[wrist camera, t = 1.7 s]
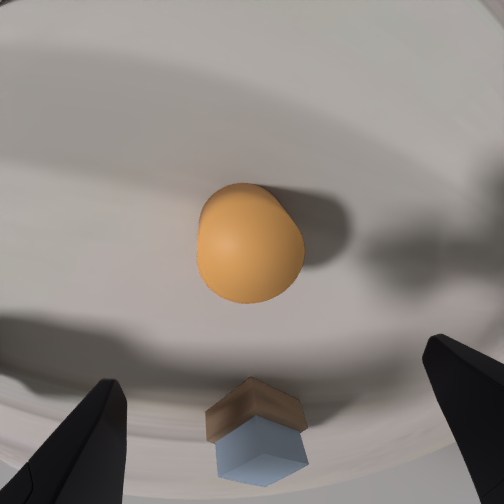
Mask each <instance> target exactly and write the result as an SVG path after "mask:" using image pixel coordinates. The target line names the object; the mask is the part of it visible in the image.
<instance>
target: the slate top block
mask: <svg viewBox="0 0 504 504" xmlns="http://www.w3.org/2000/svg"><path fill="white" fill-rule="evenodd" d="M215 445H216V458H217V470H218V477H220V478H224V479H228V480H232V481H237V482H241V483H246V484H251V485H256V486H261V487H266V486H268V485H270V484H272V483H274V482H276V481H278V480H280V479H282V478H284V477H286V476H288V475H290V474H292V473H294V472H296V471H298V470H300V469H301V468H303V467H305V466H307V465H309V463H308V459H307V456H306V452H305V449H304V446H303V442H302V439H301V435H300V432H299V431H297V430H295V429H292V428H289V427H286V426H283V425H281V424H278V423H275V422H273V421H270V420H267V419H265V418H262V417H260V416H257V415H255V416H254V417H253V418H251V419H250V420H248V421H247V422H245V423H244V424H242V425H241V426H239V427H238V428H236V429H235V430H233V431H232V432H230V433H229V434H227V435H226V436H224V437H223V438H221V439H220V440H218V441H216V442H215Z"/></svg>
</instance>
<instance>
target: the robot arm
mask: <svg viewBox="0 0 504 504" xmlns="http://www.w3.org/2000/svg"><path fill="white" fill-rule="evenodd" d="M422 361H423V365H424V367H425V370H426V372H427V375H428V377H429V380H430V383H431V385H432V388H433V391H434V393H435V396H436V399H437V401H438V403H439V406H440V408H441V410H442V412H443V414H444V416H445V418H446V420H447V422H448V425H449V427H450V429H451V431H452V433H453V436H454V438H455V440H456V442H457V444H458V447H459V449H460V451H461V454H462V456H463V458H464V461H465V463H466V466H467V468H468V471H469V473H470V475H471V478H472V481H473V483H474V486H475V488H476V491H477V494H478V496H479V498H480V502H481V504H504V364H503V363H501V362H499V361H497V360H495V359H493V358H491V357H489V356H487V355H485V354H483V353H480V352H478V351H476V350H474V349H472V348H470V347H468V346H466V345H464V344H462V343H460V342H458V341H456V340H454V339H452V338H450V337H448V336H446V335H444V334H437V335H434V336H431V337H430V338H429V340H428V342H427V345H426V348H425V350H424V353H423V356H422ZM126 452H127V400H126V397H125V395H124V393H123V391H122V388H121V386H120V384H119V382H118V381H117V380H116V379H111V378H104V379H102V380H100V381H99V382H98V383H97V385H96V386H95V387H94V388H93V389H92V390H91V391H90V392H89V393H88V394H87V395H86V397H85V398H84V399H83V400H82V401H81V402H80V403H79V404H78V405H77V406H76V408H75V409H74V410H73V411H72V412H71V413H70V414H69V415H68V416H67V417H66V419H65V420H64V421H63V422H62V423H61V424H60V425H59V426H58V427H57V429H56V430H55V431H54V432H53V433H52V434H51V435H50V436H49V438H48V439H47V440H46V441H45V442H44V443H43V444H42V445H41V447H40V448H39V449H38V450H37V451H36V452H35V453H34V455H33V456H32V457H31V458H30V459H29V461H28V462H29V463H28V462H26V464H25V465H24V466H23V467H22V468H21V469H20V470H19V471H18V473H17V474H16V475H15V476H14V477H13V478H12V479H11V480H10V481H9V482H8V483H7V484H6V485H5V486H4V487H3V488H2V489H1V490H0V504H122V495H123V483H124V473H125V463H126Z"/></svg>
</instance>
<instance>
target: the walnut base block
mask: <svg viewBox="0 0 504 504" xmlns="http://www.w3.org/2000/svg"><path fill="white" fill-rule="evenodd" d="M205 414H206V436H207V441H209V442H211V443H214V444H215V442H216V441H218V440H220V439H221V438H223V437H224V436H226V435H227V434H229V433H230V432H232V431H233V430H235V429H236V428H238V427H239V426H241V425H242V424H244V423H245V422H247V421H248V420H250V419H251V418H253V417H254V416H255V415H257V416H260V417H262V418H265V419H267V420H270V421H273V422H275V423H278V424H281V425H283V426H286V427H289V428H292V429H295V430H297V431H299V432H300V433H301V432H303V431H304V430H306V429H307V428H308V426H307V423H306V420H305V417H304V414H303V410H302V407H301V404H300V401H299V400H298V399H295V398H293V397H291V396H289V395H287V394H285V393H283V392H281V391H279V390H277V389H275V388H272V387H270V386H268V385H266V384H264V383H262V382H260V381H258V380H257V379H255V378H253V377H250V378H249V379H247V380H246V381H245V382H243V383H242V384H241V385H240V386H238V387H237V388H236V389H235V390H233V391H232V392H231V393H229V394H228V395H227V396H226V397H224V398H223V399H222V400H220V401H219V402H218V403H216V404H215V405H214V406H212V407H211V408H210V409H208V410H207V411H206V412H205Z"/></svg>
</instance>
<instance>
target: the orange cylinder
mask: <svg viewBox="0 0 504 504" xmlns="http://www.w3.org/2000/svg"><path fill="white" fill-rule="evenodd" d="M304 256H305V246H304V241H303V237H302V234H301V232H300V230H299V228H298V227H297V226H296V224H295V223H294V221H293V220H292V219H291V218H290V216H289V215H288V214H287V212H286V211H285V210H284V208H283V207H282V206H281V205H280V203H279V202H278V201H277V199H276V198H275V197H274V196H273V195H272V194H271V193H270V192H269V191H267V190H266V189H264V188H262V187H260V186H257V185H254V184H249V183H237V184H232V185H228V186H226V187H224V188H222V189H220V190H218V191H217V192H215V193H214V194H213V195H212V196H211V197H210V198H209V199H208V201H207V202H206V203H205V205H204V207H203V209H202V211H201V215H200V220H199V231H198V245H197V265H198V269H199V272H200V275H201V277H202V279H203V281H204V282H205V283H206V285H207V286H208V287H209V288H210V289H211V290H212V291H213V292H214V293H216V294H217V295H219V296H220V297H222V298H224V299H227V300H229V301H232V302H237V303H245V304H249V303H259V302H263V301H267V300H269V299H272V298H274V297H276V296H278V295H279V294H281V293H282V292H284V291H285V290H286V289H287V288H288V287H289V286H290V285H291V284H292V283H293V282H294V281H295V279H296V278H297V276H298V275H299V273H300V271H301V268H302V266H303V262H304Z"/></svg>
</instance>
